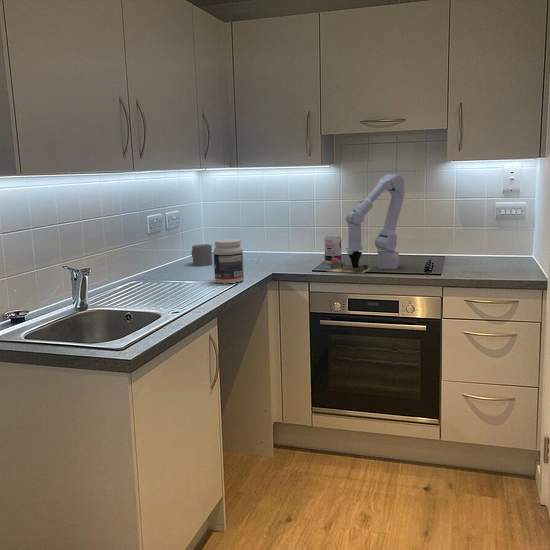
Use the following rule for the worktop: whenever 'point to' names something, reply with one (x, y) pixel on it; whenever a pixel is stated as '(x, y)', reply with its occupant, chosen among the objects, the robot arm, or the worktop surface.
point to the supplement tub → (228, 261)
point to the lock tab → (334, 260)
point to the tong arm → (349, 266)
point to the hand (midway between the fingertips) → (355, 268)
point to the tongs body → (340, 266)
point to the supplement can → (332, 248)
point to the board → (348, 270)
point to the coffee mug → (202, 255)
